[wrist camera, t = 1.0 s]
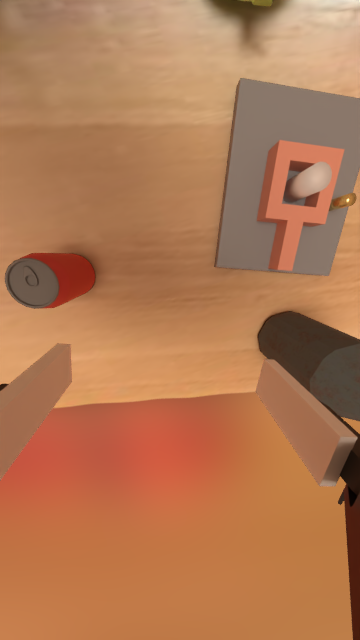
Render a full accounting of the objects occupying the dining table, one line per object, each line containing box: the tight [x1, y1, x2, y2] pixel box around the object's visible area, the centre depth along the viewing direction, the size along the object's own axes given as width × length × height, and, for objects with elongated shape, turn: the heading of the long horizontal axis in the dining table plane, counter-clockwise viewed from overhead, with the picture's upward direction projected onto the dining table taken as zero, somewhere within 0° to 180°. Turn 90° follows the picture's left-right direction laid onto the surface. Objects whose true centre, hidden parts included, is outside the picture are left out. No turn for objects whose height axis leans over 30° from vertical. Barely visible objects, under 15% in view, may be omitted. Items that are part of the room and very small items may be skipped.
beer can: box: [5, 253, 95, 309], centre depth 28 cm, size 7×7×12 cm
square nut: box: [257, 140, 345, 271], centre depth 31 cm, size 16×9×3 cm, turn 175°
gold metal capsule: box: [329, 193, 356, 211], centre depth 31 cm, size 2×2×4 cm
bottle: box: [258, 311, 360, 421], centre depth 26 cm, size 10×10×30 cm
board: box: [214, 78, 360, 276], centre depth 29 cm, size 24×20×8 cm
